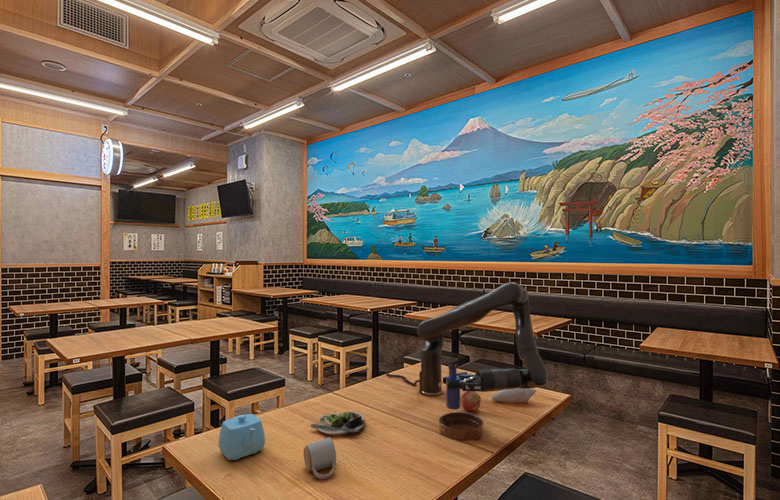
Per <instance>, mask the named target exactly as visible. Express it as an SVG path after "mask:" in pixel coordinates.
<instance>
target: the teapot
mask: <svg viewBox="0 0 780 500" xmlns="http://www.w3.org/2000/svg"><path fill="white" fill-rule="evenodd" d="M265 435H266V434H265V430H264V426H263V422H262V420H261V419H260V418H259V417H258V416H257V415H255V414H253V413H247V414H240V415H236V416H233V417H232V418H229V419H227V420H224V421H222V424H221V427H220V431H219V437H218V447H219V450H220V452H221V454H222V455H223V456H224V457H225V458H226V459H227V460H229V461H238V460H240V459H241V458H244V457H248V456H250V455H255V454H257V453H258V452H260V451H261V450H263V449H264V447H265V444H266V436H265Z"/></svg>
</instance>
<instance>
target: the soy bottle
mask: <svg viewBox="0 0 780 500" xmlns="http://www.w3.org/2000/svg"><path fill="white" fill-rule="evenodd" d="M447 366H448V375H447V376H445V377H446V384H445V396H446V397H445V406H446V408H447V409H448V410H460V409H461V390H460V389H448V387H447V383H448V382H457V381H458V383H459V381H460V378H459V377H457V373H458V372H457V369H458V364H457V363H453V362H452V363H451V362H450V363H448V365H447Z"/></svg>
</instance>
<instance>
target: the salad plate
mask: <svg viewBox="0 0 780 500" xmlns="http://www.w3.org/2000/svg"><path fill="white" fill-rule="evenodd" d="M309 426H310V428H313V429H316V430H318V431H320V432H321V433H322V434H325V435H328V436H329V435H330V436H349V435H356V434H358V433H360V432H362V431H363V429H364V427H365V420H364V417H363V415H362V413H360V412H355V411H343V412H339V413H327V414H324V415H322V416H321V417H319V418H318V423H317V424H316V423H312V424H311V423H310V425H309Z"/></svg>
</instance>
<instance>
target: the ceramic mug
mask: <svg viewBox="0 0 780 500" xmlns="http://www.w3.org/2000/svg"><path fill="white" fill-rule="evenodd" d="M303 461H304V466H305V468H306V470H307V471H308V472H313V474H314V476H315V477H316V478H317V479H320V480H326V479H329V478H330V477H332V475H333V474H334V471H335V466H336V464H337V452H336V447H335V444H334V441H333V439H332V438H331V436H329V437H326V438H322V439H320V440H316V441H315V442H311V443H309V444H307V445H305V446H304V447H303ZM331 467H332V468H331ZM329 468H331V469H330V471H329V472H328V473H326V474H321V473H318V471H319V470H324V469H329Z"/></svg>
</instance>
